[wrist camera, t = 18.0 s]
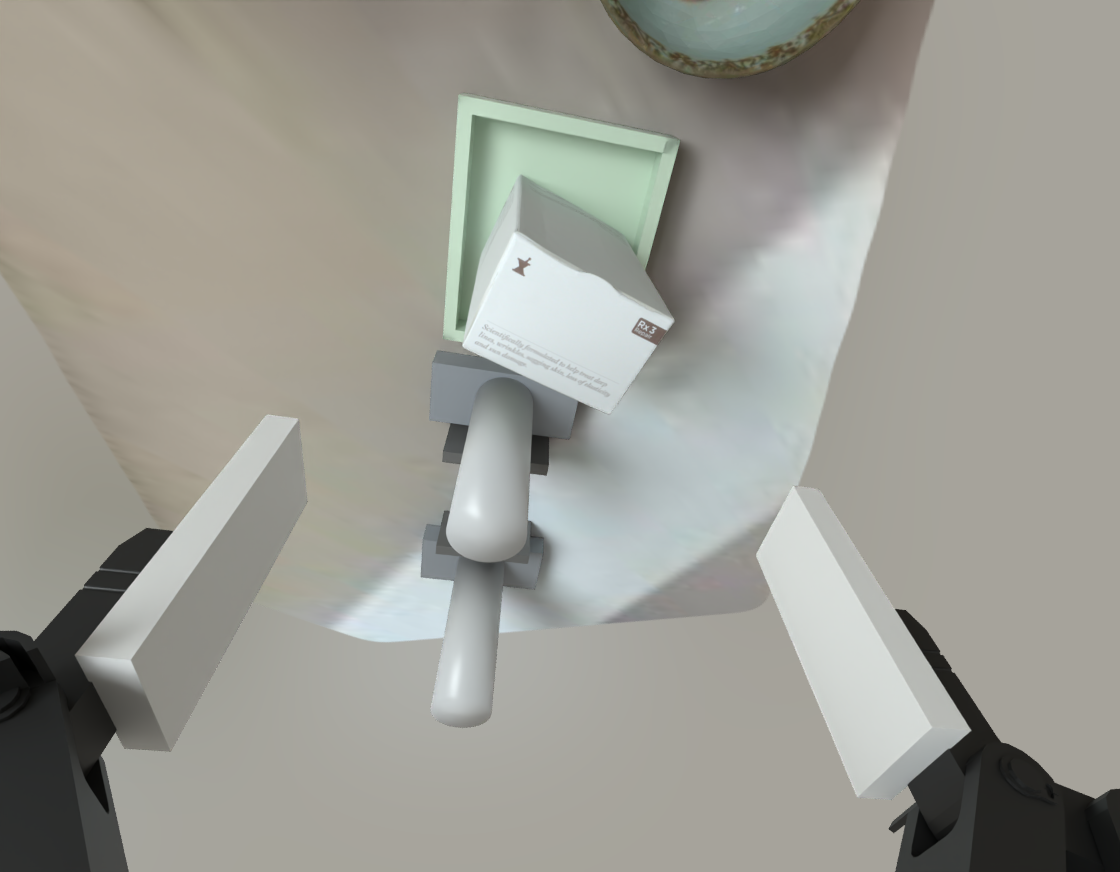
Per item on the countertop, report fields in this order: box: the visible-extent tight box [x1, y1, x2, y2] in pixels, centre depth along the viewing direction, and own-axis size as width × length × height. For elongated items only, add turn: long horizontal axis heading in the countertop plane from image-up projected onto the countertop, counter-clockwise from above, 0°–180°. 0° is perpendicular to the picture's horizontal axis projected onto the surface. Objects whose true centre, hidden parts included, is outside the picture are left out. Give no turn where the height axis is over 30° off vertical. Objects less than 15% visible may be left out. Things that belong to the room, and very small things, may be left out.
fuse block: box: [421, 351, 578, 728], centre depth 41 cm, size 11×23×16 cm, turn 170°
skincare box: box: [462, 175, 675, 415], centre depth 30 cm, size 8×6×15 cm
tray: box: [443, 93, 680, 342], centre depth 36 cm, size 13×15×2 cm
